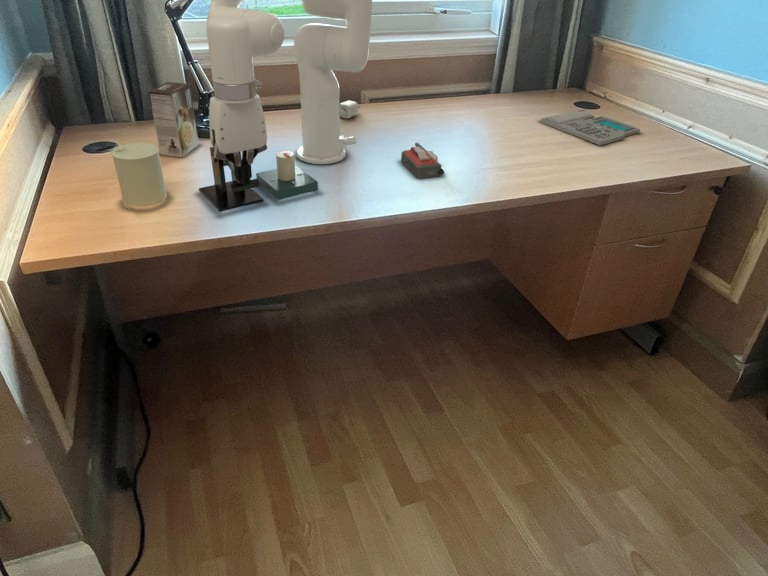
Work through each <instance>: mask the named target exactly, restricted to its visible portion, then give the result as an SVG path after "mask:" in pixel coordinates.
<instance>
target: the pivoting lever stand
mask: <svg viewBox="0 0 768 576" xmlns="http://www.w3.org/2000/svg"><path fill="white" fill-rule="evenodd" d="M209 153H210V159H211V166H212V167H211V168H212V174H213V182H214V184H213V185H207V186H202V187H199V188H198V191H199V193H201V195H202V196H203V197H204V198H205V199H206V200H207V201H208V202H209V203H210V204H211V205H212V206H213V207H214V208H215V210H217V211H218V212H219V213H221V212H225V211H226V212H227V211H229V210H233V209H237V208H241V207H245V206H246V207H247V206H249V205H250V206H251V205H255V204H258V203H263V202H264V198H263V197H261V196H260V195H259V194H258V193H257V192H256V191H255V190H254V189H253V188H251V189H246V190H242V191H238V192H233V193H232V192H231V190H230V185H231V184H235V183H239V182H238V180H236V178H235V176H234V174H233V173H232V171H231V170H230V175H231V181H226V173H225V166H224V165H223V159H217V158H215V157H214V147H213V146H211V147H209ZM239 154H240V158H241V159H242V151H240V152H239Z"/></svg>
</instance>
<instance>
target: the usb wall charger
mask: <svg viewBox="0 0 768 576" xmlns="http://www.w3.org/2000/svg"><path fill="white" fill-rule="evenodd" d="M360 108H361V106H360V105H359V104H358V102H357V101H353V100H350V99H349V100H346V101H343V102H339V110H340V118H343V119H350V118H353V117H356V116H358V114H359V113H358V109H360Z"/></svg>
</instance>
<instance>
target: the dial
mask: <svg viewBox="0 0 768 576" xmlns="http://www.w3.org/2000/svg"><path fill="white" fill-rule="evenodd" d="M295 159H296V157H295V153H294V152H293V151H289V150H281V151H278V152H276V154H275V160H276V169H277V175H278V179H279V180H282V181H290V180H293V179H295V165H296V160H295Z"/></svg>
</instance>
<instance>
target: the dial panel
mask: <svg viewBox="0 0 768 576" xmlns="http://www.w3.org/2000/svg"><path fill="white" fill-rule="evenodd" d="M255 177H256V178H255V179H258V180H259V182H260V186H262V188H263V189H264V190H266V191H267V192H268V193H269V194H271V196H273V198H275V199H276V200H278V201H279V200H284V199H287V198H293V197H295V196H301V195H304V194H308V193H312V192H316V191H318V190H319V182H318V180H316V179H315V178H313V177H312V176H310V175H309V174H308V173H307V172H305V171H304V170H302V169H301V168H300V167H299V166H297V165H296V164H295V179H293V180H290V181H282V180H279V179H278V175H277V168H275V169H269V170H266V171H261V172H257V173H255Z"/></svg>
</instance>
